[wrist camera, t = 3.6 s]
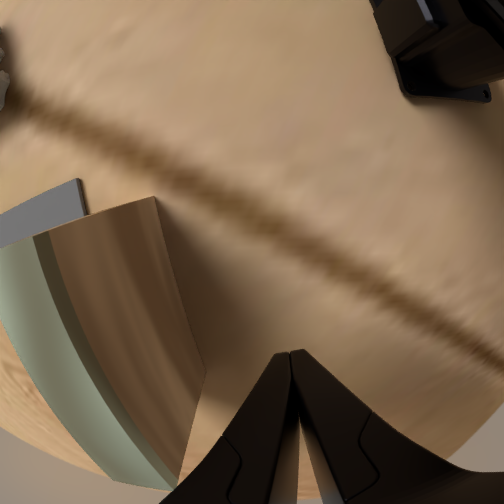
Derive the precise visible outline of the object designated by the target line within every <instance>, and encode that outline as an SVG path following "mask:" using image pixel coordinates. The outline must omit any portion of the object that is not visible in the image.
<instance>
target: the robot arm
mask: <svg viewBox="0 0 504 504" xmlns="http://www.w3.org/2000/svg"><path fill="white" fill-rule="evenodd" d="M369 1H370V3H371V6H372V8H373V10H374V13H373V15H374V18H375V20H376V23H377V25H378V28H379V31H380V33H381V36H382V39H383V42H384V45H385V48H386V51H387V53H388V54H389V56H390V57H391V59H392V62H393V66H394V69H395V73H396V76H397V80H398V83H399V87H400V89H401V91H402V93H403V94H404V95H406V96H408V97H420V98H438V99H451V100H461V101H470V102H477V103H489V102H491V99H492V98H491V92H490V89H489V85H488V83H491V82H495V81H499V80H503V79H504V0H369ZM407 83H409V84H410V85H411V86H412V90H410V89H409V88H408V86H407ZM483 93H484V94H483ZM484 95H485V96H484ZM298 412H299V413H298ZM299 419H300V422H299ZM300 424H301V428H302V432H303V435H304V439H305V442H306V446H307V449H308V453H309V456H310V460H311V463H312V467H313V470H314V474H315V477H316V481H317V484H318V488H319V491H320V495H321V498H322V501H323V504H504V472H474V471H470V470H465V469H462V468H460V467H458V466H456V465H454V464H452V463H449V462H448V461H446V460H444V459H443V458H441V457H439V456H437V455H436V454H434V453H432V452H430V451H429V450H427V449H425V448H424V447H422V446H420V445H418V444H417V443H415V442H414V441H412V440H410V439H409V438H407V437H406V436H404V435H403V434H401V433H400V432H398V431H397V430H396V429H394V428H393V427H392V426H391V425H389V424H388V423H387V422H385V421H384V420H383V419H382V418H381V417H380V416H378V415H377V414H376V413H375V412H372V410H371V409H370V408H369V407H368V406H367V405H366V404H365V403H363V402H362V401H361V400H360V399H359V398H358V397H357V396H355V395H354V394H353V393H352V392H351V391H350V390H349V389H348V388H347V387H345V386H344V385H343V384H342V383H341V382H340V381H339V380H338V379H337V378H335V377H334V376H333V375H332V374H331V373H330V372H329V371H328V370H327V369H326V368H324V367H323V366H322V365H321V364H320V363H319V362H318V361H317V360H316V359H315V358H314V357H312V356H311V355H310V354H309V353H308V352H307V351H306V350H305V349H299V350H294V351H291V352H290V354H289V352H282V353H276V354H274V355H273V357H272V359H271V360H270V362H269V363H268V365H267V367H266V368H265V370H264V372H263V373H262V375H261V376H260V378H259V380H258V381H257V383H256V384H255V386H254V387H253V389H252V391H251V392H250V394H249V395H248V397H247V398H246V400H245V401H244V403H243V404H242V406H241V407H240V409H239V410H238V412H237V413H236V415H235V416H234V418H233V419H232V421H231V422H230V424H229V425H228V427H227V428H226V429H225V431H224V432H223V434H222V435H223V436H220V438H219V439H218V441H217V442H216V443H215V445H214V446H213V448H212V449H211V450H210V451H209V453H208V454H207V455H206V456H205V458H204V459H203V460H202V461H201V463H200V464H199V465H198V466H197V467H196V468H195V469H194V470H193V471H192V472H191V473H190V474H189V475H188V476H187V477H186V478H185V479H184V480H183V481H182V482H181V483H180V484H179V485H178V486H177V487H176V488H175V489H174V490H173V491H172V492H171V493H170V494H169V495H168V496H166V497H165V498H164V499H163V500H162V501H161V502H160V503H159V504H297V489H298V468H299V439H300Z"/></svg>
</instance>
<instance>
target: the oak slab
mask: <svg viewBox="0 0 504 504" xmlns="http://www.w3.org/2000/svg"><path fill="white" fill-rule="evenodd" d="M0 319H1V322H2V324H3V326H4V328H5V330H6V333H7V335H8V337H9V339H10V341H11V343H12V345H13V347H14V349H15V351H16V353H17V354H18V356H19V358H20V360H21V362H22V364H23V365H24V367H25V369H26V371H27V372H28V374H29V376H30V377H31V379H32V381H33V382H34V384H35V386H36V387H37V389H38V390H39V392H40V393H41V395H42V396H43V398H44V399H45V401H46V402H47V404H48V405H49V407H50V408H51V409H52V411H53V412H54V414H55V415H56V416H57V418H58V419H59V420H60V422H61V423H62V424H63V426H64V427H65V428H66V429H67V431H68V432H69V433H70V434H71V436H72V437H73V438H74V439H75V440H76V442H77V443H78V444H79V445H80V446H81V447H82V449H83V450H84V451H85V452H86V453H87V454H88V455H89V456H90V458H91V459H92V460H93V461H94V462H95V463H96V464H97V465H98V466H99V467H100V468H101V469H102V470H103V471H104V472H105V473H106V474H107V475H108V476H109V477H110V478H111V479H112V480H114V481H118V482H122V483H126V484H131V485H136V486H141V487H147V488H153V489H160V490H167V491H173V490H174V489H175V488H176V487H177V483H178V479H179V475H180V471H181V467H182V463H183V459H184V455H185V451H186V448H187V444H188V440H189V436H190V432H191V428H192V424H193V421H194V417H195V413H196V409H197V405H198V401H199V398H200V394H201V390H202V386H203V383H204V379H205V375H206V371H205V368H204V365H203V362H202V360H201V357H200V354H199V351H198V348H197V345H196V343H195V340H194V337H193V334H192V331H191V328H190V325H189V322H188V319H187V316H186V312H185V309H184V306H183V303H182V300H181V296H180V293H179V290H178V286H177V283H176V280H175V276H174V273H173V269H172V266H171V262H170V258H169V255H168V251H167V247H166V243H165V240H164V236H163V232H162V228H161V224H160V220H159V216H158V211H157V207H156V203H155V198H154V196H151V197H148V198H144V199H140V200H137V201H133V202H130V203H126V204H123V205H119V206H116V207H112V208H109V209H106V210H102V211H99V212H96V213H93V214H90V215H87V216H84V217H81V218H78V219H75V220H72V221H70V222H67V223H64V224H61V225H58V226H56V227H53V228H50V229H47V230H45V231H42V232H39V233H37V234H34V235H32V236H29V237H27V238H24V239H22V240H19V241H17V242H14V243H12V244H10V245H7V246H5V247H3V248H0Z"/></svg>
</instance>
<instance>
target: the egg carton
mask: <svg viewBox="0 0 504 504" xmlns="http://www.w3.org/2000/svg"><path fill="white" fill-rule="evenodd" d="M0 33H1V27H0ZM4 55H5V53H4V51H3V49H2V48H0V62H1V60H2V58H3V56H4ZM9 84H10V77H9V74H8V73H5V72H4V71H3V70H2V71H0V111H1V109H2V108H3V107H4V100H5V93H6V90H7V88H8V86H9Z"/></svg>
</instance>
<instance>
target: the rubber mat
mask: <svg viewBox="0 0 504 504" xmlns="http://www.w3.org/2000/svg"><path fill="white" fill-rule="evenodd" d="M84 216H87V213H86V209H85V204H84V200H83V195H82V190H81V185H80V180H79V178H76V179H73V180H71V181H69V182H66V183H64V184H62V185H59V186H57V187H55V188H53V189H50V190H48V191H46V192H44V193H42V194H40V195H38V196H36V197H34V198H31V199H29V200H27V201H25V202H23V203H21V204H20V205H18V206H16V207H14V208H12V209H10V210H8V211H6V212H4V213H3V214H1V215H0V248H3V247H5V246H7V245H10V244H12V243H14V242H17V241H19V240H22V239H24V238H27V237H29V236H32V235H34V234H37V233H39V232H42V231H45V230H47V229H50V228H53V227H56V226H58V225H61V224H64V223H67V222H70V221H72V220H75V219H78V218H81V217H84Z"/></svg>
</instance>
